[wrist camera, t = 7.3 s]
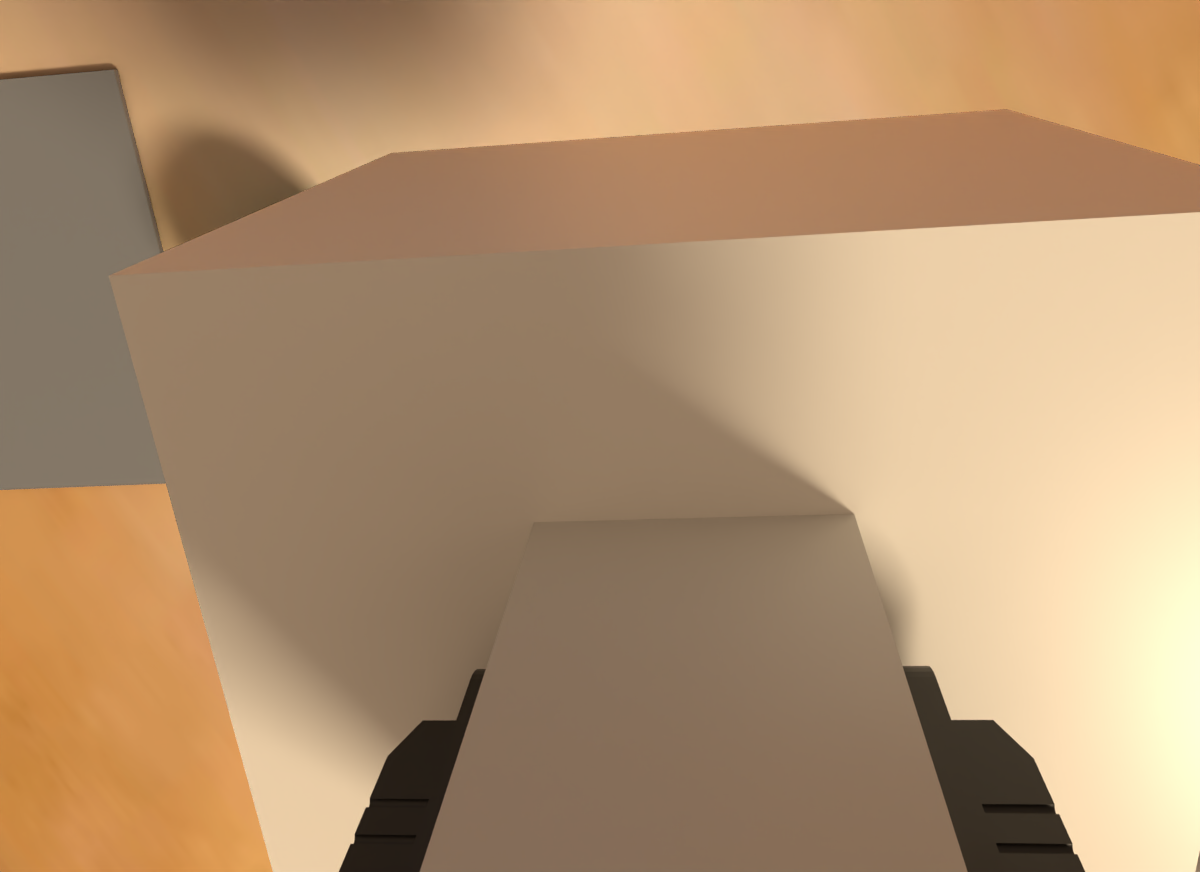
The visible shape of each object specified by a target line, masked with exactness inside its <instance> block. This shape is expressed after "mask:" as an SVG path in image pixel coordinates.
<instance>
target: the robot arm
mask: <svg viewBox="0 0 1200 872" xmlns="http://www.w3.org/2000/svg"><path fill="white" fill-rule="evenodd" d="M903 669H904V673H905V676H906V679H907V682H908V685H909V688H910V692H911V695H912V698H913V701H914V704H915V707H916V711H917V714H918V717H919V720H920V723H921V726H922V729H923V733H924V736H925V739H926V742H927V745H928V748H929V752H930V755H931V758H932V761H933V764H934V767H935V771H936V774H937V777H938V780H939V783H940V786H941V789H942V793H943V796H944V799H945V802H946V805H947V808H948V812H949V815H950V818H951V821H952V824H953V827H954V831H955V834H956V837H957V840H958V843H959V846H960V850H961V853H962V856H963V859H964V862H965V865H966V868H967V872H1085V870H1084V868H1083V866H1082V863H1081V861H1080V859H1079V857H1078V855H1077V854H1074V852H1073V844H1072V841H1071V839H1070V837H1069V835H1068V833H1067V830H1066V828H1065V826H1064V824H1063V822H1062V819H1061V817H1060V815H1059V814H1056V812H1055V804H1054V802H1053V800H1052V797H1051V795H1050V793H1049V791H1048V789H1047V786H1046V784H1045V782H1044V780H1043V778H1042V775H1041V773H1040V771H1039V769H1038V767H1037V764H1036V762H1035V760H1034V758H1033V757H1032V756H1031V755H1030V754H1029V753H1028V752H1027V751H1025V750H1024V749H1023V748H1022V747H1021V746H1020V745H1019V744H1018V743H1017V742H1016V741H1015V740H1014V739H1013V738H1012V737H1011V736H1010V735H1009V734H1008V733H1006V732H1005V731H1004V730H1003V729H1002V728H1001V727H1000V726H999V725H998V724H997V723H996V722H995V721H994V720H951V718H950V715H949V712H948V709H947V707H946V704H945V701H944V698H943V696H942V693H941V690H940V687H939V684H938V682H937V679H936V676H935V674H934V671H933V670H932V668H931V667H930V666H903ZM485 670H486V669H476V670H475V671H474V672H473V674H472V676H471V679H470V682H469V684H468V687H467V690H466V693H465V696H464V699H463V702H462V705H461V708H460V711H459V713H458V716H457V719H456V720H423V721H422V722H421V723H420V724H419V725H418V726H417V727H416V728H415V729H414V730H413V731H412V732H411V733H410V734H409V735H408V736H407V737H406V738H405V739H404V740H403V741H402V742H401V743H400V744H399V745H398V746H397V747H396V748H395V749H394V750H393V751H392V752H391V753H390V754H389V755H388V756H387V758H386V761H385V763H384V765H383V768H382V770H381V773H380V775H379V777H378V780H377V782H376V784H375V787H374V789H373V792H372V794H371V796H370V804H369V807H366V808H365V811H364V813H363V815H362V818H361V820H360V822H359V825H358V827H357V830H356V832H355V834H354V835H355V840H354V844H350V846H349V848H348V851H347V853H346V856H345V858H344V860H343V863H342V865H341V867H340V870H339V872H420V869H421V866H422V863H423V860H424V857H425V854H426V851H427V848H428V845H429V842H430V839H431V836H432V833H433V830H434V827H435V823H436V820H437V817H438V814H439V811H440V808H441V805H442V802H443V799H444V796H445V793H446V790H447V787H448V784H449V781H450V777H451V774H452V771H453V768H454V765H455V762H456V759H457V756H458V753H459V750H460V747H461V744H462V741H463V738H464V735H465V732H466V728H467V725H468V722H469V719H470V716H471V713H472V710H473V707H474V704H475V701H476V698H477V695H478V692H479V689H480V686H481V683H482V679H483V676H484V673H485Z"/></svg>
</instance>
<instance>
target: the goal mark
mask: <svg viewBox="0 0 1200 872" xmlns="http://www.w3.org/2000/svg"><path fill="white" fill-rule="evenodd" d="M162 252H163V249H162V245H161V241H160V237H159V233H158V229H157V225H156V221H155V217H154V213H153V209H152V205H151V201H150V197H149V193H148V189H147V185H146V181H145V178H144V174H143V170H142V166H141V162H140V158H139V154H138V150H137V146H136V142H135V138H134V134H133V130H132V126H131V122H130V118H129V114H128V110H127V106H126V102H125V98H124V94H123V90H122V87H121V83H120V79H119V75H118V71H117V69H115V70H104V71H93V72H81V73H70V74H59V75H48V76H37V77H25V78H14V79H3V80H0V490H10V489H36V488H61V487H87V486H112V485H138V484H164V483H166V482H165V478H164V475H163V471H162V467H161V464H160V460H159V457H158V453H157V449H156V446H155V442H154V438H153V435H152V431H151V428H150V424H149V420H148V417H147V413H146V409H145V406H144V402H143V399H142V395H141V391H140V388H139V384H138V380H137V377H136V373H135V369H134V366H133V362H132V359H131V355H130V351H129V348H128V344H127V340H126V337H125V333H124V330H123V326H122V322H121V319H120V315H119V311H118V308H117V304H116V301H115V297H114V293H113V290H112V286H111V282H110V279H109V275H112V274H114V273H116V272H119V271H121V270H123V269H125V268H128V267H130V266H132V265H135V264H137V263H139V262H142V261H144V260H146V259H148V258H151V257H153V256H155V255H158V254H160V253H162Z"/></svg>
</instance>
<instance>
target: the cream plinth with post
mask: <svg viewBox="0 0 1200 872" xmlns="http://www.w3.org/2000/svg"><path fill="white" fill-rule="evenodd" d="M109 279H110V282H111V286H112V290H113V293H114V297H115V301H116V304H117V308H118V311H119V315H120V319H121V322H122V326H123V330H124V333H125V337H126V340H127V344H128V348H129V351H130V355H131V359H132V362H133V366H134V369H135V373H136V377H137V380H138V384H139V388H140V391H141V395H142V399H143V402H144V406H145V409H146V413H147V417H148V420H149V424H150V428H151V431H152V435H153V438H154V442H155V446H156V449H157V453H158V457H159V460H160V464H161V467H162V471H163V475H164V478H165V482H166V486H167V489H168V493H169V496H170V500H171V504H172V507H173V511H174V515H175V518H176V522H177V525H178V529H179V533H180V536H181V540H182V544H183V547H184V551H185V554H186V558H187V562H188V565H189V569H190V573H191V576H192V580H193V583H194V587H195V591H196V594H197V598H198V602H199V605H200V609H201V612H202V616H203V620H204V623H205V627H206V631H207V634H208V638H209V641H210V645H211V649H212V652H213V656H214V660H215V663H216V667H217V670H218V674H219V678H220V681H221V685H222V689H223V692H224V696H225V699H226V703H227V707H228V710H229V714H230V718H231V721H232V725H233V728H234V732H235V736H236V739H237V743H238V747H239V750H240V754H241V757H242V761H243V765H244V768H245V772H246V776H247V779H248V783H249V786H250V790H251V794H252V797H253V801H254V805H255V808H256V812H257V816H258V819H259V823H260V826H261V830H262V834H263V837H264V841H265V845H266V848H267V852H268V855H269V859H270V863H271V866H272V870H273V872H339V870H340V867H341V865H342V863H343V860H344V858H345V856H346V853H347V851H348V848H349V846H350V844H354V840H355V835H354V834H355V832H356V830H357V827H358V825H359V822H360V820H361V818H362V815H363V813H364V811H365V808H366V807H369V804H370V796H371V794H372V792H373V789H374V787H375V784H376V782H377V780H378V777H379V775H380V773H381V770H382V768H383V765H384V763H385V761H386V758H387V756H388V755H389V754H390V753H391V752H392V751H393V750H394V749H395V748H396V747H397V746H398V745H399V744H400V743H401V742H402V741H403V740H404V739H405V738H406V737H407V736H408V735H409V734H410V733H411V732H412V731H413V730H414V729H415V728H416V727H417V726H418V725H419V724H420V723H421V722H422V721H423V720H456V719H457V716H458V713H459V711H460V708H461V705H462V702H463V699H464V696H465V693H466V690H467V687H468V684H469V682H470V679H471V676H472V674H473V672H474V671H475V670H476V669H486V670H485V673H484V676H483V679H482V683H481V686H480V689H479V692H478V695H477V698H476V701H475V704H474V707H473V710H472V713H471V716H470V719H469V722H468V725H467V728H466V732H465V735H464V738H463V741H462V744H461V747H460V750H459V753H458V756H457V759H456V762H455V765H454V768H453V771H452V774H451V777H450V781H449V784H448V787H447V790H446V793H445V796H444V799H443V802H442V805H441V808H440V811H439V814H438V817H437V820H436V823H435V827H434V830H433V833H432V836H431V839H430V842H429V845H428V848H427V851H426V854H425V857H424V860H423V863H422V866H421V869H420V872H967V868H966V865H965V862H964V859H963V856H962V853H961V850H960V846H959V843H958V840H957V837H956V834H955V831H954V827H953V824H952V821H951V818H950V815H949V812H948V808H947V805H946V802H945V799H944V796H943V793H942V789H941V786H940V783H939V780H938V777H937V774H936V771H935V767H934V764H933V761H932V758H931V755H930V752H929V748H928V745H927V742H926V739H925V736H924V733H923V729H922V726H921V723H920V720H919V717H918V714H917V711H916V707H915V704H914V701H913V698H912V695H911V692H910V688H909V685H908V682H907V679H906V676H905V673H904V669H903V666H930V667H931V668H932V670H933V671H934V674H935V676H936V679H937V682H938V684H939V687H940V690H941V693H942V696H943V698H944V701H945V704H946V707H947V709H948V712H949V715H950V718H951V720H994V721H995V722H996V723H997V724H998V725H999V726H1000V727H1001V728H1002V729H1003V730H1004V731H1005V732H1006V733H1008V734H1009V735H1010V736H1011V737H1012V738H1013V739H1014V740H1015V741H1016V742H1017V743H1018V744H1019V745H1020V746H1021V747H1022V748H1023V749H1024V750H1025V751H1027V752H1028V753H1029V754H1030V755H1031V756H1032V757H1033V758H1034V760H1035V762H1036V764H1037V767H1038V769H1039V771H1040V773H1041V775H1042V778H1043V780H1044V782H1045V784H1046V786H1047V789H1048V791H1049V793H1050V795H1051V797H1052V800H1053V802H1054V804H1055V812H1056V814H1059V815H1060V817H1061V819H1062V822H1063V824H1064V826H1065V828H1066V830H1067V833H1068V835H1069V837H1070V839H1071V841H1072V844H1073V852H1074V854H1077V855H1078V857H1079V859H1080V861H1081V863H1082V866H1083V868H1084V870H1085V872H1195V871H1196V866H1197V861H1198V857H1199V852H1200V165H1198V164H1195V163H1191V162H1188V161H1184V160H1181V159H1177V158H1174V157H1170V156H1167V155H1164V154H1160V153H1157V152H1153V151H1150V150H1146V149H1143V148H1139V147H1136V146H1132V145H1129V144H1126V143H1122V142H1119V141H1115V140H1112V139H1108V138H1105V137H1101V136H1098V135H1094V134H1091V133H1088V132H1084V131H1081V130H1077V129H1074V128H1070V127H1067V126H1063V125H1060V124H1056V123H1053V122H1049V121H1046V120H1043V119H1039V118H1036V117H1032V116H1029V115H1025V114H1022V113H1018V112H1015V111H1011V110H1008V109H1003V110H989V111H975V112H961V113H947V114H933V115H919V116H905V117H891V118H877V119H863V120H848V121H834V122H820V123H806V124H792V125H778V126H764V127H750V128H736V129H722V130H708V131H694V132H680V133H666V134H652V135H638V136H624V137H610V138H596V139H582V140H568V141H554V142H540V143H526V144H512V145H497V146H483V147H469V148H455V149H441V150H427V151H413V152H399V153H390V154H388V155H385V156H383V157H381V158H379V159H376V160H374V161H372V162H369V163H367V164H365V165H362V166H360V167H358V168H356V169H353V170H351V171H349V172H346V173H344V174H342V175H339V176H337V177H335V178H333V179H330V180H328V181H326V182H323V183H321V184H319V185H316V186H314V187H312V188H310V189H307V190H305V191H303V192H300V193H298V194H296V195H293V196H291V197H289V198H287V199H284V200H282V201H280V202H277V203H275V204H273V205H270V206H268V207H266V208H264V209H261V210H259V211H257V212H254V213H252V214H250V215H247V216H245V217H243V218H240V219H238V220H236V221H234V222H231V223H229V224H227V225H224V226H222V227H220V228H217V229H215V230H213V231H211V232H208V233H206V234H204V235H201V236H199V237H197V238H194V239H192V240H190V241H188V242H185V243H183V244H181V245H178V246H176V247H174V248H171V249H169V250H167V251H165V252H162V253H160V254H158V255H155V256H153V257H151V258H148V259H146V260H144V261H142V262H139V263H137V264H135V265H132V266H130V267H128V268H125V269H123V270H121V271H119V272H116V273H114V274H112V275H109Z"/></svg>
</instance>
